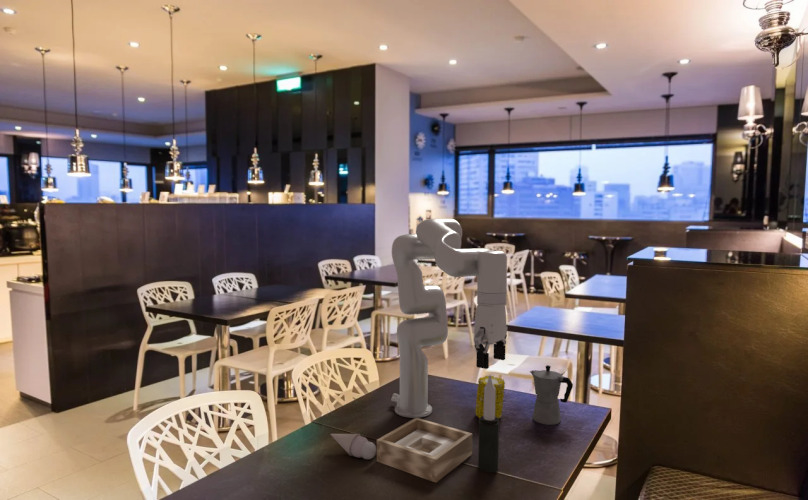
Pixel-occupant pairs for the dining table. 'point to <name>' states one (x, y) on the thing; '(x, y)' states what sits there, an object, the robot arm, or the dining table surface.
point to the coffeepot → (549, 395)
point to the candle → (488, 432)
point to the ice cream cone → (356, 445)
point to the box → (424, 448)
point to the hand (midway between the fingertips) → (491, 363)
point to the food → (499, 395)
